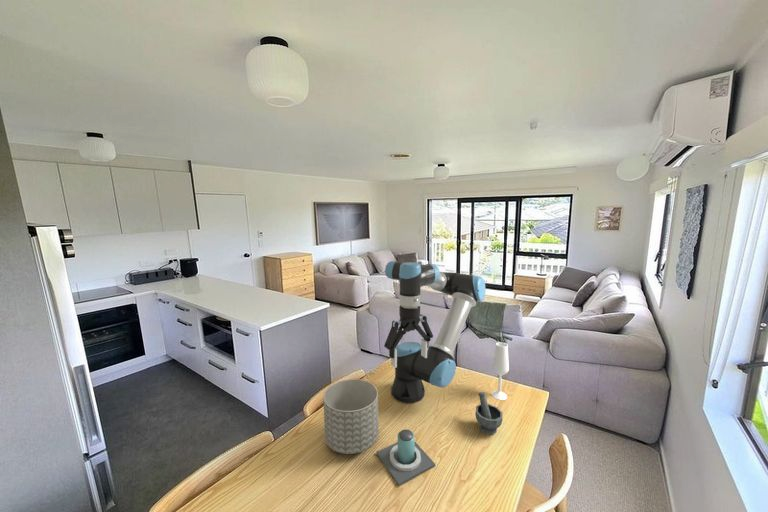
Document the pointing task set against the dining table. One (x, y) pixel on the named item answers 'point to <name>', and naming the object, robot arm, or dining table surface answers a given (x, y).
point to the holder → (402, 471)
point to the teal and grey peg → (406, 447)
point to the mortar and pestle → (488, 415)
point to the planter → (351, 416)
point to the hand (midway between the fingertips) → (409, 361)
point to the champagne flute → (500, 367)
